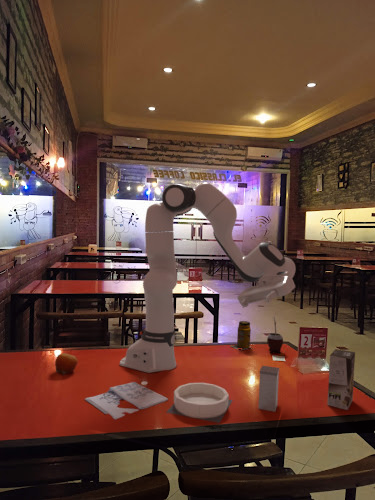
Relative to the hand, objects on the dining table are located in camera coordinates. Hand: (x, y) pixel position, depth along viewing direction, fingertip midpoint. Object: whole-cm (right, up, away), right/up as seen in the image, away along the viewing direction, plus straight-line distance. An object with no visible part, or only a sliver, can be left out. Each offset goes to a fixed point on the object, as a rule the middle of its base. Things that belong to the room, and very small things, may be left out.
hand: (254, 302), depth 130 cm
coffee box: (+27, -32, -5) cm, 42 cm away
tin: (+2, -31, -11) cm, 33 cm away
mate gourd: (+17, -29, +48) cm, 59 cm away
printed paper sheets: (-42, -30, -9) cm, 52 cm away
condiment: (+3, -28, +54) cm, 61 cm away
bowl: (-18, -30, -12) cm, 37 cm away
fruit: (-67, -28, +14) cm, 74 cm away
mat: (-18, -30, -12) cm, 37 cm away
